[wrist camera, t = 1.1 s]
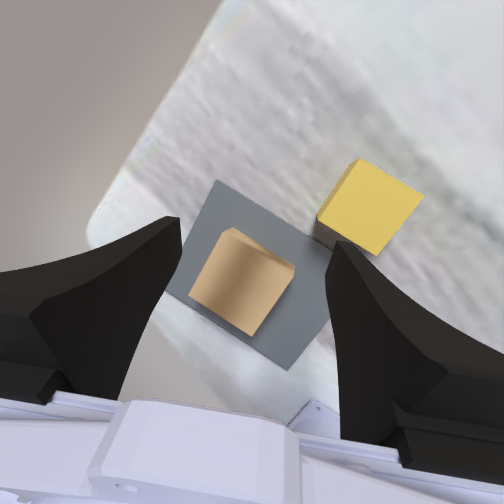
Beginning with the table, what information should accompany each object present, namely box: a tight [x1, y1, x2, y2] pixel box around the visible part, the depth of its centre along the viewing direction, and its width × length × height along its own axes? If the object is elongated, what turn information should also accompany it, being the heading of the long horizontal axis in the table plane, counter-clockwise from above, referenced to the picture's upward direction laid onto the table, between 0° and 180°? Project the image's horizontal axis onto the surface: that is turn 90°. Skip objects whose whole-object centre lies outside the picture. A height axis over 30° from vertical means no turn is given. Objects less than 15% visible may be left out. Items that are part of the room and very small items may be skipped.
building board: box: [165, 180, 333, 370], centre depth 26 cm, size 16×13×1 cm
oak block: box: [188, 227, 295, 337], centre depth 24 cm, size 7×7×3 cm
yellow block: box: [316, 158, 424, 256], centre depth 20 cm, size 5×5×4 cm
